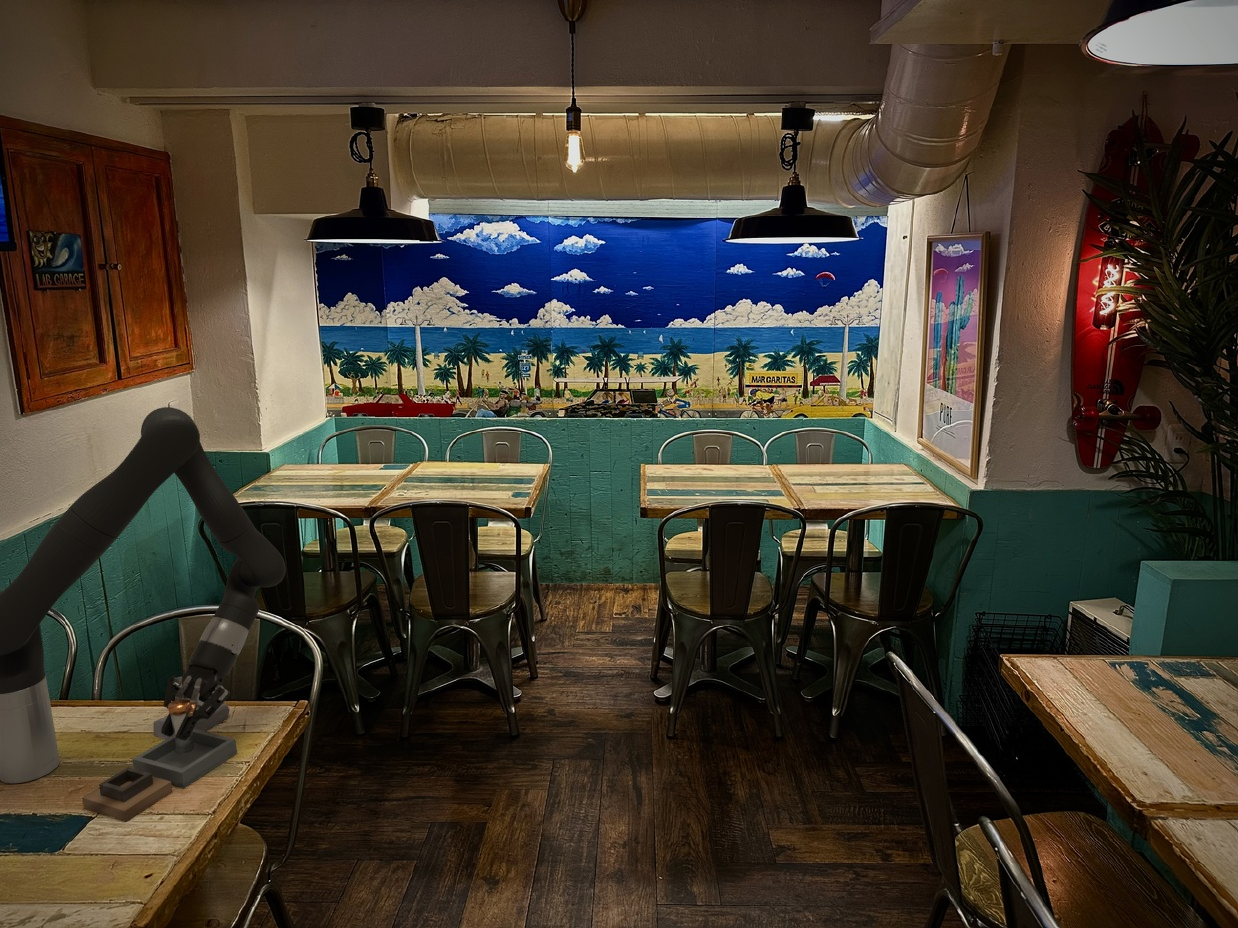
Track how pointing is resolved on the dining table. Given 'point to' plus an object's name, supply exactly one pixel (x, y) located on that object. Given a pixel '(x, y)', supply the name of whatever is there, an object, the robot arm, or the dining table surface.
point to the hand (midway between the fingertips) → (173, 736)
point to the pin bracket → (127, 794)
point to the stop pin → (178, 714)
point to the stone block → (201, 724)
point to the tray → (186, 758)
